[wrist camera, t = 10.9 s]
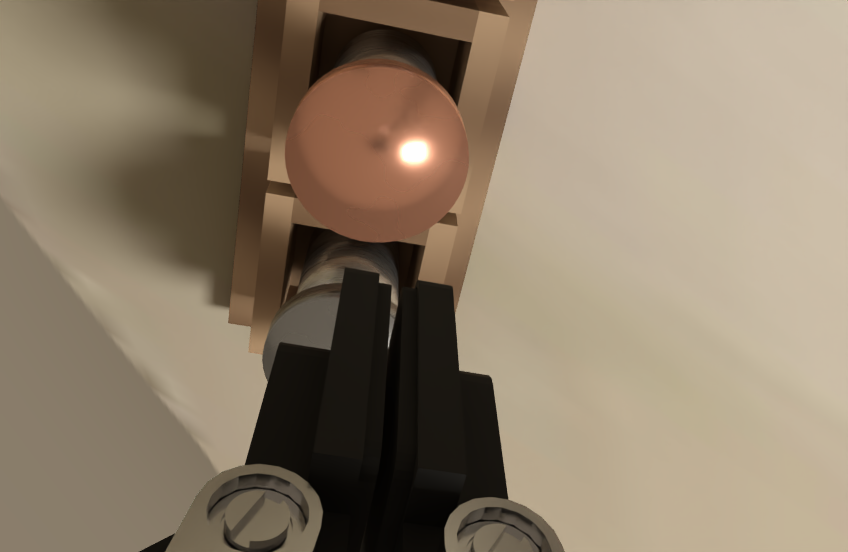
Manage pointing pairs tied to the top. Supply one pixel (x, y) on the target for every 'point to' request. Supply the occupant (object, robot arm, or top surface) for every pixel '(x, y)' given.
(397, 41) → the plug mid
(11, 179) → the top surface
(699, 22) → the top surface
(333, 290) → the plug
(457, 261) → the socket board
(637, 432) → the top surface
